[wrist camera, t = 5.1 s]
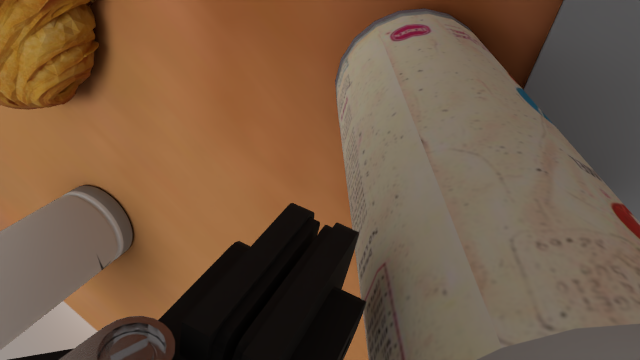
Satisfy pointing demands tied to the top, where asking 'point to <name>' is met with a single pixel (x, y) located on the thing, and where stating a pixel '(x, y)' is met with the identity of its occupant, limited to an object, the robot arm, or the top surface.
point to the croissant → (44, 51)
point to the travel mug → (57, 254)
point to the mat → (595, 88)
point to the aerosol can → (475, 208)
